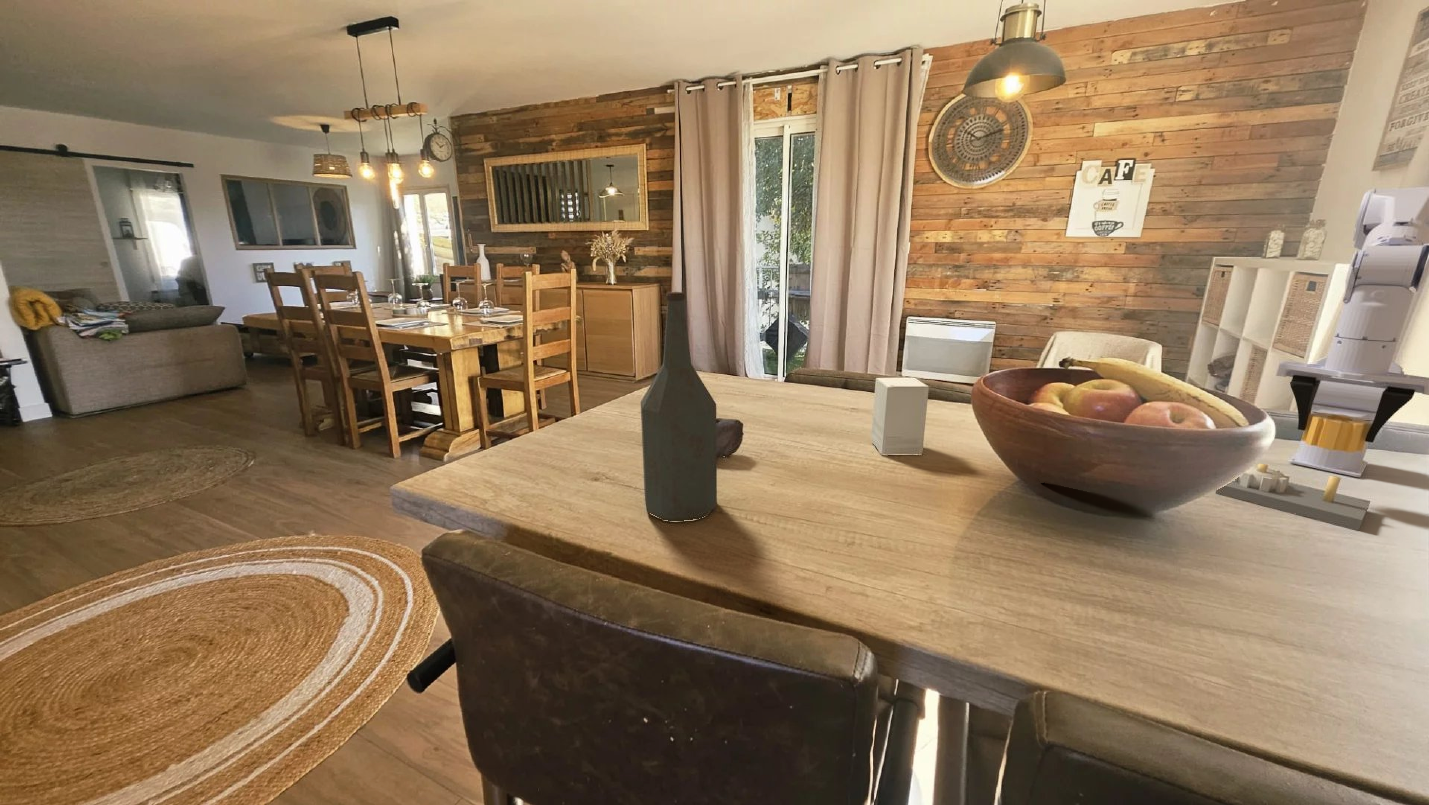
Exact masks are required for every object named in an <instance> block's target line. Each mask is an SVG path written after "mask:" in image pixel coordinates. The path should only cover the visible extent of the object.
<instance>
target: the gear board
mask: <svg viewBox="0 0 1429 805" xmlns="http://www.w3.org/2000/svg"><path fill="white" fill-rule="evenodd" d="M1253 465H1254V466H1252V467H1251V468H1250V469H1249V470H1247V471H1246V472H1244V473H1243V475H1240V477H1238V478H1237V479H1235V481H1232V482H1231V483H1229V484H1227V485H1226V486H1224V487H1222V488H1220V489H1218V490H1217V489H1216V490H1215V494H1217V495H1221V496H1225V497H1228V498H1232V499H1235V498H1236V499H1237V500H1239V499H1240V500H1239V501H1243V502H1247V501H1249V502H1248V503H1251V502H1252V504H1256V505H1258V504H1260V505H1259V506H1262V505H1263V507H1266V506H1267V507H1266V508H1270V507H1271V508H1270V509H1273V510H1277V509H1278V510H1277V511H1281V510H1284V511H1283V512H1285V511H1286V513H1289V512H1290V513H1289V514H1293V513H1296V514H1295V515H1297V514H1299V515H1298V516H1300V515H1302V516H1301V517H1304V516H1308V517H1311V518H1310V519H1312V518H1313V519H1312V520H1316V519H1317V521H1319V520H1320V522H1323V521H1325V522H1324V523H1327V522H1328V523H1327V524H1331V525H1334V526H1340V527H1343V528H1346V529H1351V530H1355V531H1360V528H1361V526H1362V523H1363V521H1364V520H1365V516H1366V514H1367V512H1368V510H1369V507H1370V503H1371V501H1370V500H1367V499H1362V498H1358V497H1354V496H1350V495H1346V494H1341V493H1337V490H1338V488H1339V485H1340V482H1341V480H1342V478H1341V477H1340V476H1335V475H1330V476H1329V477H1328V480H1327V483H1326V487H1325V489H1319V488H1315V487H1311V486H1307V485H1302V484H1298V483H1294V482H1289V481H1290V478H1291V476H1290V474H1287V473H1283V472H1280V469H1275V468H1273V467H1271V468H1268V467H1269V465H1268V464H1264V463H1258V464H1253ZM1308 517H1307V518H1308Z"/></svg>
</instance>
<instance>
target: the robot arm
mask: <svg viewBox="0 0 1429 805" xmlns="http://www.w3.org/2000/svg"><path fill="white" fill-rule="evenodd" d="M1363 194H1364V195H1363V196H1362V200H1361V203H1360V206H1359V209H1358V212H1357V213H1358V214H1357V216H1356V219H1355V226H1354V228H1355V230H1354V233H1353V238H1352V241H1353V242H1354V243H1353V248H1354V249H1356V250H1355V252H1354V253H1353V255H1352V258H1351V261H1350V263H1349V266H1348V271H1347V274H1346V278H1345V286H1344V287H1345V289H1344V295H1343V299H1342V303H1343V306H1342V308H1341V311H1340V313H1339V317H1338V321H1337V324H1336V328H1335V330H1334V333H1333V338H1332V341H1331V345H1330V347H1329V350H1328V355H1326V356H1323V357H1321V358H1319V359H1317V360H1316V362H1313V363H1301V362H1291V361H1281V362H1279V363H1278V365H1277V370H1276V374H1275V376H1276V377H1284V378H1285V377H1286V378H1287V377H1290V378H1291V381H1290V382H1289V383H1290V384H1289V385H1290V388H1291V391H1292V394H1293V396H1294V399H1295V404H1296V408H1297V415H1298V416H1297V418H1298V420H1297V421H1298V423H1297V430H1299V431H1304V430H1305V428H1306V425H1307V420H1308V417H1309V414H1310V413H1314V414H1316V413H1317V412H1322V413H1328V414H1337V415H1338V414H1341V415H1348V416H1350V417H1355V418H1362V419H1365V420H1367V422H1371V423H1372V424H1371V427H1370V429H1369V431H1368V433H1367V436H1366V439H1365V441H1366V442H1365V445H1364V448H1363V451H1362V452H1360V451H1356V452H1355V453H1352V452H1345V451H1338V450H1328V449H1323V448H1322V447H1317V446H1315V445H1308V444H1306V443H1305V441H1302V437H1303V435H1302V436H1301V439H1300V443H1299V446H1298V449H1297V451H1295V453H1294V454H1293V455H1292V456H1291V457H1290V458H1289V459H1288V463H1289V464H1294V465H1299V466H1302V467H1303V466H1305V467H1309V468H1314V469H1317V470H1322V471H1326V472H1332V473H1337V474H1341V475H1346V476H1350V477H1355V478H1360V477H1361V476H1362V475H1363V472H1364V470H1365V469H1366V467H1367V465H1368V461H1366V460H1364V459H1365V455H1366V452H1367V448H1368V446H1369V443H1374V441H1375V439H1376V436H1377V435H1378V433H1379V432H1380V431H1381V429H1383V427H1384V425H1385V424H1386V423H1387V422H1388V421H1389V420H1390V419H1391V418H1392V417H1393V416H1394V415H1395V414H1396V413H1397V412H1398V411H1399V410H1400V409H1401V408H1403V407H1404V406H1405V405H1406V404H1407V403H1409V402H1410V401H1411V400H1412V399H1413V397H1414V395H1415V394H1416V393H1418V394H1422V395H1425V396H1429V377H1426V376H1419V375H1413V374H1406V373H1405V371H1404V368H1403V367H1402V366H1401V365H1400V364H1398V363H1396V361H1394V360H1393V359H1394V355H1395V352H1396V349H1397V346H1398V343H1399V340H1400V337H1401V335H1402V332H1403V329H1404V325H1405V322H1406V320H1407V316H1408V313H1409V311H1410V307H1411V305H1412V301H1413V298H1414V296H1415V292H1413V291H1412V290H1410V288H1414V289H1415V291H1416V292H1418V291H1419V290H1420V289H1421V287H1422V286H1423V284H1424V282H1425V279H1426V277H1427V274H1428V270H1429V186H1418V187H1416V186H1415V187H1403V188H1402V187H1399V188H1384V189H1383V188H1382V189H1380V188H1379V189H1377V188H1370V190H1368V191H1366V192H1365V193H1363Z"/></svg>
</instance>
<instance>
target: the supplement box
mask: <svg viewBox="0 0 1429 805" xmlns="http://www.w3.org/2000/svg"><path fill="white" fill-rule="evenodd" d="M874 383H875V385H874V397H873V412H872V424H871V436H870V437H871V438H870V442H871V441H872V443H874V445H875V446H876V447H877V449H878V450H879V451H880V452H881V454H918V455H919V454H922V455H923V450H924V449H923V448H924V440H925V432H926V431H925V430H926V429H925V428H926V419H927V410H928V409H927V408H928V401H929V400H928V399H929V389H930V387H929V385H927V384H926V383H924V382H922V381H921V380H919V379H918V378H916V377H876V378H875V382H874ZM872 443H871V444H872ZM874 445H873V446H874ZM875 446H874V447H875ZM877 449H876V450H877ZM878 450H877V451H878ZM879 451H878V452H879ZM880 452H879V453H880ZM881 454H880V455H881Z"/></svg>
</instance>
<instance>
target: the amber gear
mask: <svg viewBox="0 0 1429 805" xmlns="http://www.w3.org/2000/svg"><path fill="white" fill-rule="evenodd" d="M1371 424H1372V423H1371V422H1367V420H1365V419H1362V418H1355V417H1350V416H1348V415H1341V414H1338V415H1337V414H1328V413H1322V412H1317V413H1316V414H1314V413H1310V414H1309V417H1308V420H1307V425H1306V428H1305V430H1303V434H1302V436H1303V437H1302V436H1301V439H1302V441H1305V443H1306V444H1308V445H1315V446H1317V447H1322V448H1323V449H1328V450H1338V451H1345V452H1352V453H1355V452H1356V451H1360V452H1362V451H1363V448H1364V445H1365V442H1366V441H1365V439H1366V436H1367V433H1368V431H1369V429H1370V427H1371Z"/></svg>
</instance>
